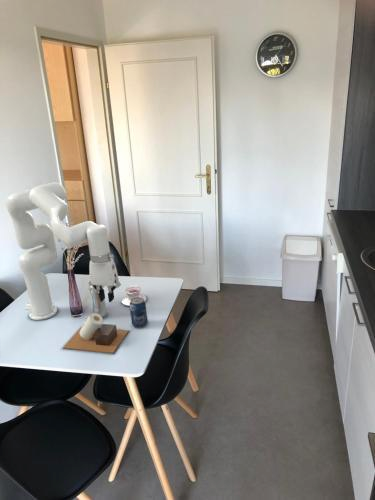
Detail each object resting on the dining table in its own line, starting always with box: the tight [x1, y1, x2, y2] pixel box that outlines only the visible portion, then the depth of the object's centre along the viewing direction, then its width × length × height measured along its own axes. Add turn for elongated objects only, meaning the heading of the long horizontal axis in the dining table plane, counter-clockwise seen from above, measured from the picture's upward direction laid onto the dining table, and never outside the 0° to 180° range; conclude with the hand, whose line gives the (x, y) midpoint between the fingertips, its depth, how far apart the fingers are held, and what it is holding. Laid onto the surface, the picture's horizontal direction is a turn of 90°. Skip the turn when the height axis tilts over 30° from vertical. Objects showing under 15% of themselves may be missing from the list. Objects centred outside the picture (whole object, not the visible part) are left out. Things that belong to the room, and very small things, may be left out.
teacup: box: [121, 285, 147, 307], centre depth 204 cm, size 12×12×6 cm
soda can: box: [129, 297, 149, 329], centre depth 181 cm, size 7×7×12 cm
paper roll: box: [80, 312, 104, 340], centre depth 172 cm, size 11×6×12 cm, turn 75°
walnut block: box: [94, 323, 118, 346], centre depth 172 cm, size 6×8×5 cm
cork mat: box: [62, 326, 129, 354], centre depth 174 cm, size 22×16×1 cm
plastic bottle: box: [88, 284, 109, 318], centre depth 190 cm, size 6×7×20 cm
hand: (107, 299), depth 166 cm, fingers open, 3 cm apart
